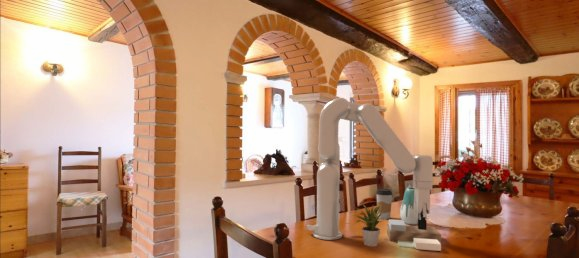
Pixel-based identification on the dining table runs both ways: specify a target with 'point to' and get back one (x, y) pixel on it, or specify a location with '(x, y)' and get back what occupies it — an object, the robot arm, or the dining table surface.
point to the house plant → (370, 226)
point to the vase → (409, 208)
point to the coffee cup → (384, 202)
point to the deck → (413, 234)
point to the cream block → (427, 244)
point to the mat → (406, 244)
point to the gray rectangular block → (397, 225)
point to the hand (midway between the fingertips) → (422, 229)
